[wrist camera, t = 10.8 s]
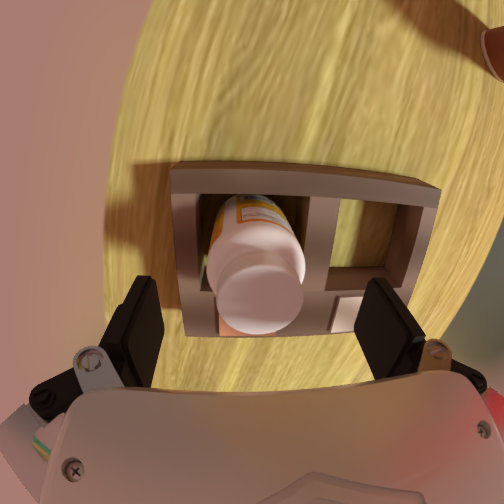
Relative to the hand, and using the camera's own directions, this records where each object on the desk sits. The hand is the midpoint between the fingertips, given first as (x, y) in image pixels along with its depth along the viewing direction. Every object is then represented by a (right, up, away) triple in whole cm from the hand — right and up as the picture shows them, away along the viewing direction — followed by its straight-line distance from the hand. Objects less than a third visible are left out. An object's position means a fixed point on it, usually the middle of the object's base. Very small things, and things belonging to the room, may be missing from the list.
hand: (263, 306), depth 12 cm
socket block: (+4, +3, +10) cm, 11 cm away
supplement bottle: (-1, +4, +10) cm, 11 cm away
